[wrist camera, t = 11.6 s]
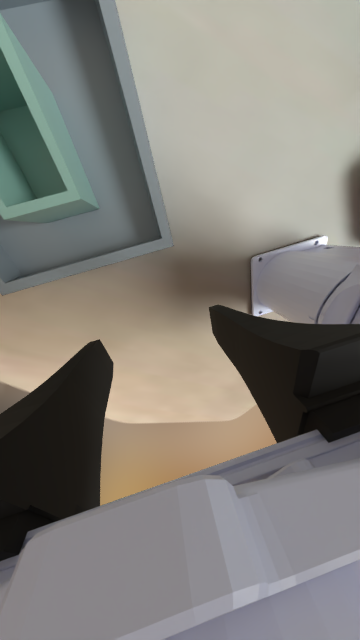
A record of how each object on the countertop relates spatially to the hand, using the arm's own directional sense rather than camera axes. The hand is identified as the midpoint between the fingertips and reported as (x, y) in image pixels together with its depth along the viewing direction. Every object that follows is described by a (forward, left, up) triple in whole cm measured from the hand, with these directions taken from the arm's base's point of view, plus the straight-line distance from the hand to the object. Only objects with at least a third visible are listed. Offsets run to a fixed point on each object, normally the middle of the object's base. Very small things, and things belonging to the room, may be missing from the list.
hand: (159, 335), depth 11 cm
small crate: (+4, -12, -9) cm, 15 cm away
